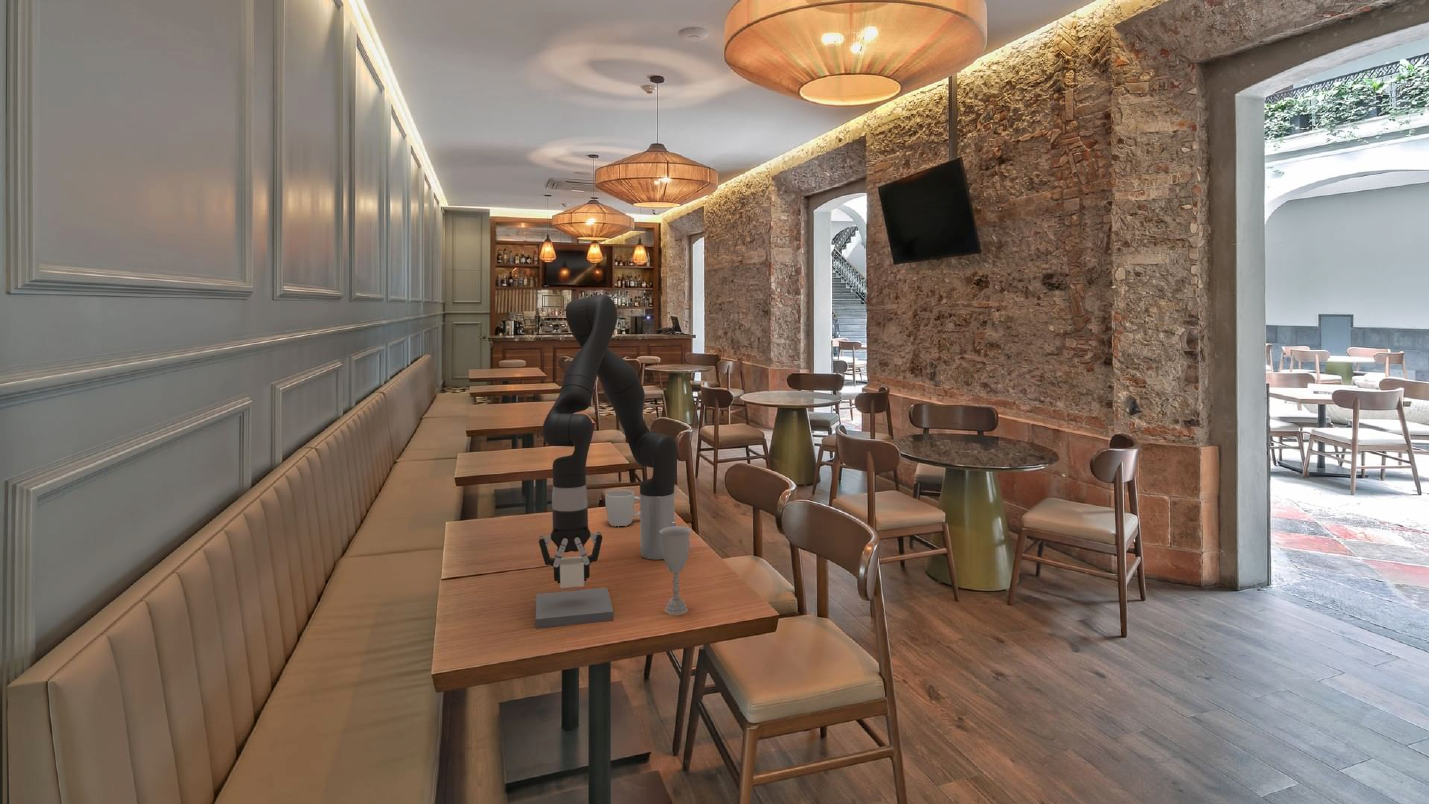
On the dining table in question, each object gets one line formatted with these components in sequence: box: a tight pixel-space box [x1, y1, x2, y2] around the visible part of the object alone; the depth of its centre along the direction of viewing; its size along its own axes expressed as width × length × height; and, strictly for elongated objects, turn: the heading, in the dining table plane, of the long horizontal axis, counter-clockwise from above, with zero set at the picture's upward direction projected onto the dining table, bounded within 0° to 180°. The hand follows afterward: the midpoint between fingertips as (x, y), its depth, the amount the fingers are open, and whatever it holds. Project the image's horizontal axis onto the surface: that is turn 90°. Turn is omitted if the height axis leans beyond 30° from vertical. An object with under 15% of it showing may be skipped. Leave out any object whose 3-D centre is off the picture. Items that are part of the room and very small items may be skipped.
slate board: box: [535, 587, 614, 629], centre depth 157 cm, size 16×14×2 cm
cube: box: [559, 555, 585, 589], centre depth 156 cm, size 5×5×5 cm
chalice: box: [659, 525, 692, 616], centre depth 157 cm, size 7×7×18 cm
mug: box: [604, 489, 640, 528], centre depth 224 cm, size 13×9×10 cm
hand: (571, 580), depth 156 cm, fingers closed on cube, 5 cm apart
